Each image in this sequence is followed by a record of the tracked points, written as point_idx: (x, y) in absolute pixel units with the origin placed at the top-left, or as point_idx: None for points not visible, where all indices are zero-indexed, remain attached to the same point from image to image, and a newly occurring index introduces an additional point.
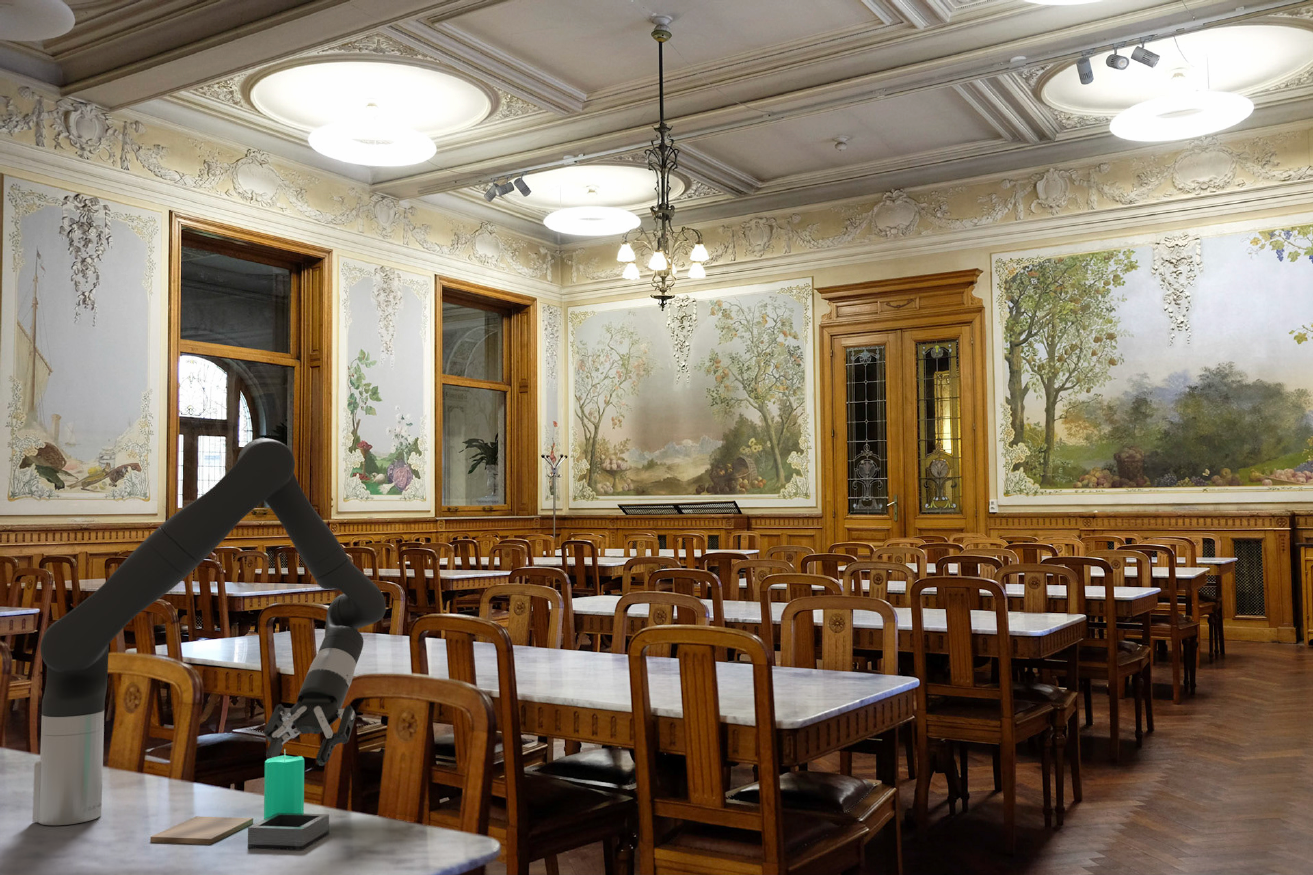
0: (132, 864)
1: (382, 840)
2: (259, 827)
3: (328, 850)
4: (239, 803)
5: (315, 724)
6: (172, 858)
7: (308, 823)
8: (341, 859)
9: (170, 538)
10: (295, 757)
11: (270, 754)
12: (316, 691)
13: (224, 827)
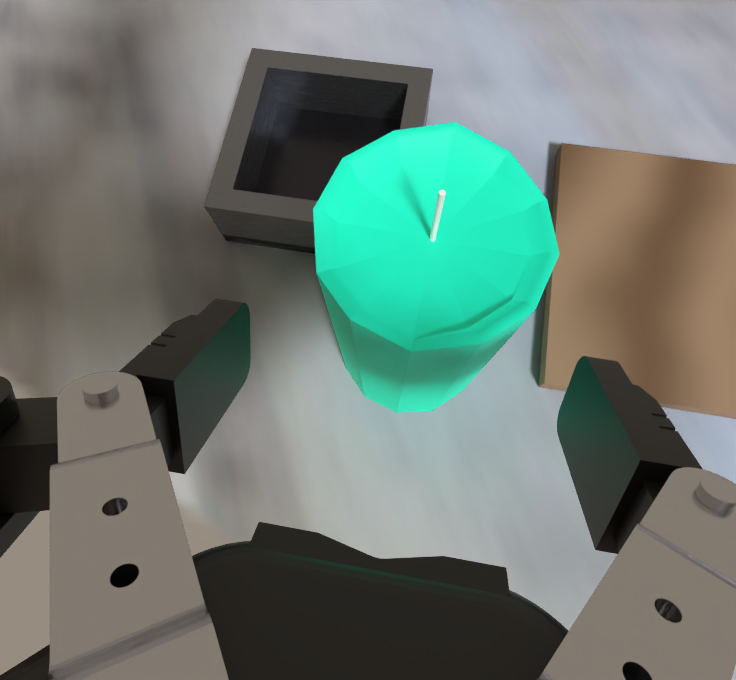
0: (668, 5)
1: (54, 174)
2: (395, 67)
3: (193, 94)
4: None
5: (249, 546)
6: (592, 44)
7: (248, 103)
8: (146, 29)
9: None
10: (396, 328)
11: (598, 361)
12: None
13: (588, 264)
